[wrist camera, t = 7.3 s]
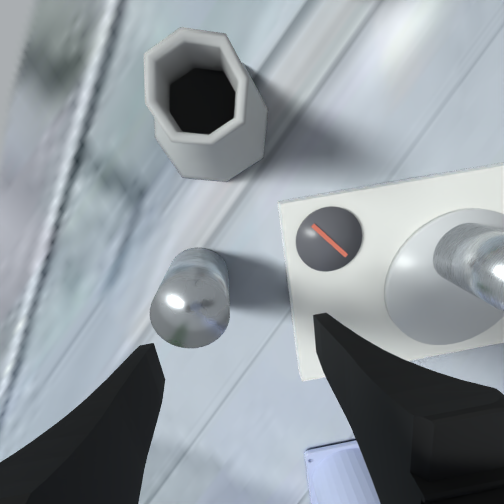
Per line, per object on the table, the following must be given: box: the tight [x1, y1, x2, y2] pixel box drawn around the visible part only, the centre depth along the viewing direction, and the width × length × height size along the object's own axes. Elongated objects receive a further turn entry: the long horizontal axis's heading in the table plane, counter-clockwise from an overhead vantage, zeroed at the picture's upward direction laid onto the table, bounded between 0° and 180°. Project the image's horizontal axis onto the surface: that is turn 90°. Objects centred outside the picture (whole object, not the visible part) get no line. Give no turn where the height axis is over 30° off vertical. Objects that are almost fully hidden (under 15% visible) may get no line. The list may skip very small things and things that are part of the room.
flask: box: [144, 27, 268, 182], centre depth 13 cm, size 7×7×10 cm
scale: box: [277, 162, 504, 382], centre depth 22 cm, size 15×19×2 cm
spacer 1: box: [150, 248, 230, 348], centre depth 18 cm, size 4×4×6 cm
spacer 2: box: [433, 223, 504, 312], centre depth 18 cm, size 4×4×6 cm
